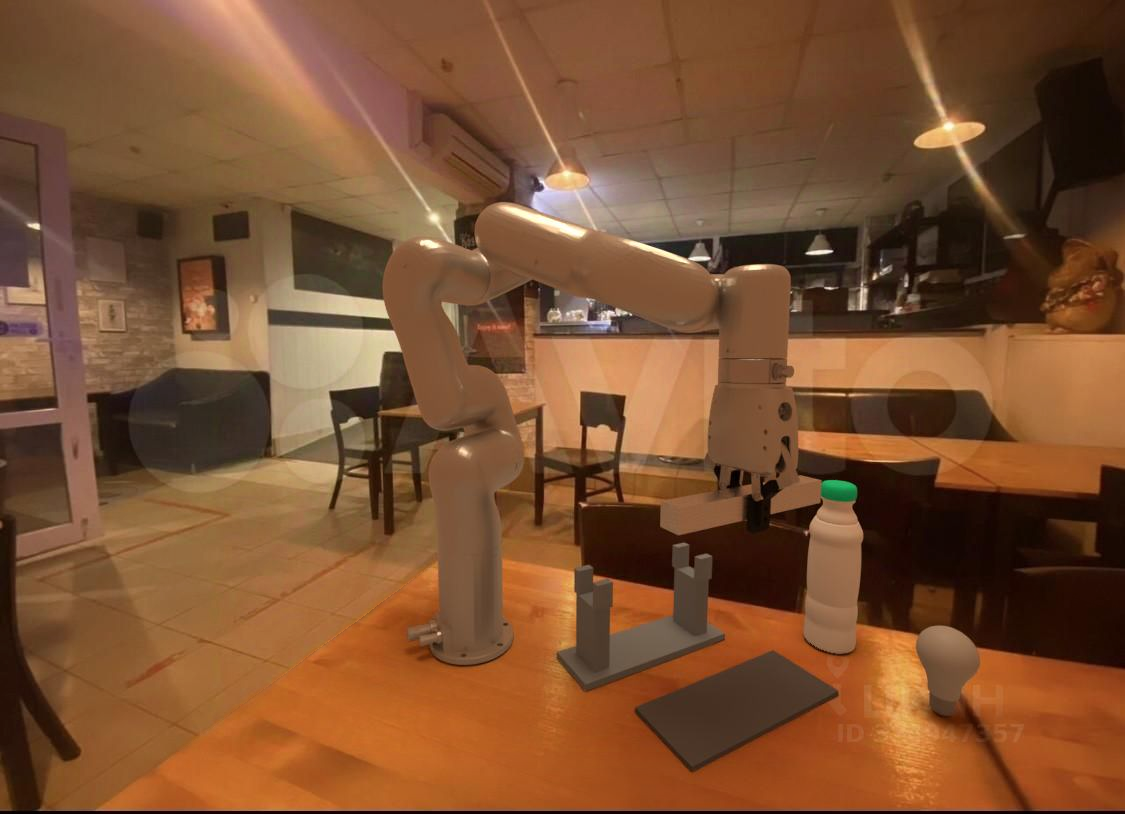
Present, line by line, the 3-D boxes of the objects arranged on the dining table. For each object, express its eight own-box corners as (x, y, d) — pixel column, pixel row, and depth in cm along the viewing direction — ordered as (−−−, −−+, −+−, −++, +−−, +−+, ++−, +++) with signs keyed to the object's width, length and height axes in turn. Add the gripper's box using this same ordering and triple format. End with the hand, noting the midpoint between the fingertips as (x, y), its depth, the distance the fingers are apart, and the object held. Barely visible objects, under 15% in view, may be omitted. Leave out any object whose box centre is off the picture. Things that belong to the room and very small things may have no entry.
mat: (691, 772, 52) (691, 766, 52) (634, 711, 61) (635, 707, 61) (838, 695, 64) (838, 690, 64) (773, 653, 73) (773, 650, 73)
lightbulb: (960, 703, 63) (968, 620, 61) (983, 738, 57) (992, 648, 56) (904, 692, 65) (910, 612, 63) (920, 725, 59) (928, 638, 58)
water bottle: (842, 630, 79) (852, 477, 76) (864, 657, 72) (876, 489, 69) (796, 628, 80) (804, 476, 77) (813, 654, 73) (824, 488, 70)
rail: (678, 535, 53) (679, 508, 53) (660, 526, 56) (660, 500, 55) (820, 502, 64) (821, 480, 64) (799, 496, 67) (800, 475, 67)
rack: (585, 691, 65) (586, 593, 63) (557, 658, 72) (557, 568, 70) (724, 639, 76) (728, 555, 75) (688, 615, 83) (691, 538, 82)
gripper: (838, 376, 53) (828, 542, 55) (721, 371, 67) (717, 503, 69) (791, 378, 49) (782, 556, 51) (679, 372, 63) (676, 511, 65)
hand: (745, 524), depth 60 cm, fingers closed on rail, 3 cm apart
